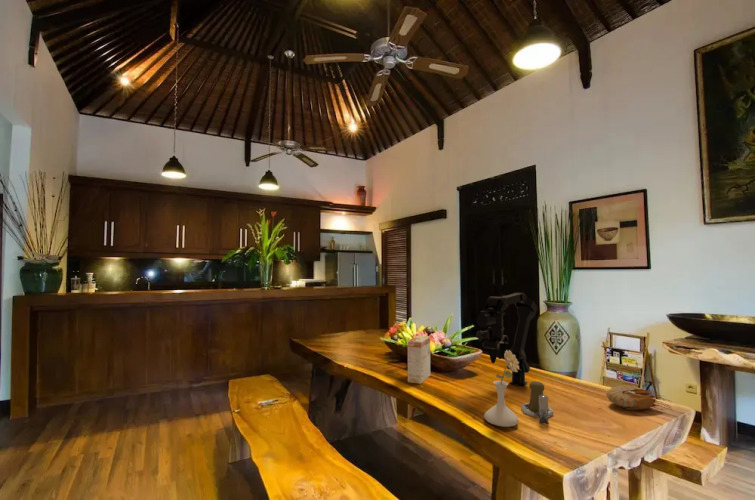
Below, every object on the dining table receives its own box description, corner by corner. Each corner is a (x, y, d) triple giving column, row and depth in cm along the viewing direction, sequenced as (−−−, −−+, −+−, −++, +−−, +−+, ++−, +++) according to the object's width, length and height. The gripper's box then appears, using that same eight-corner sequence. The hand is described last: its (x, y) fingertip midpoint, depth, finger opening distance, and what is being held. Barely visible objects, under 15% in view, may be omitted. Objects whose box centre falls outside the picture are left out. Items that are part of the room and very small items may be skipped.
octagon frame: (519, 405, 142) (519, 382, 143) (547, 407, 140) (547, 384, 141) (529, 422, 127) (528, 396, 127) (560, 425, 125) (560, 398, 125)
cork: (548, 411, 137) (547, 381, 137) (543, 416, 132) (542, 385, 133) (531, 407, 141) (531, 378, 141) (526, 412, 136) (525, 382, 137)
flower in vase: (500, 432, 119) (499, 355, 120) (477, 419, 129) (476, 348, 131) (529, 426, 124) (528, 352, 125) (505, 413, 135) (505, 345, 136)
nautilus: (671, 410, 140) (676, 426, 127) (606, 395, 152) (604, 409, 139) (672, 390, 140) (677, 404, 127) (607, 376, 152) (605, 388, 139)
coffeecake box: (417, 373, 184) (417, 334, 185) (431, 375, 181) (430, 336, 182) (406, 382, 171) (406, 340, 172) (421, 384, 168) (421, 341, 169)
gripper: (485, 321, 173) (485, 354, 172) (470, 326, 157) (471, 362, 157) (509, 323, 166) (509, 357, 165) (496, 328, 151) (496, 366, 150)
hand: (496, 361), depth 160 cm, fingers open, 9 cm apart
